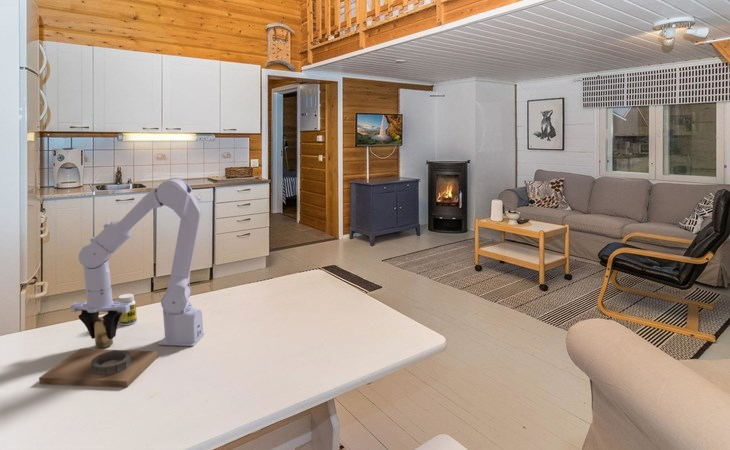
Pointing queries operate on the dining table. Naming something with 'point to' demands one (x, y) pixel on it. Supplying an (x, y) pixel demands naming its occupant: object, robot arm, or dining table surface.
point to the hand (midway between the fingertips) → (103, 337)
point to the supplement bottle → (131, 315)
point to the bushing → (101, 333)
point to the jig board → (100, 368)
